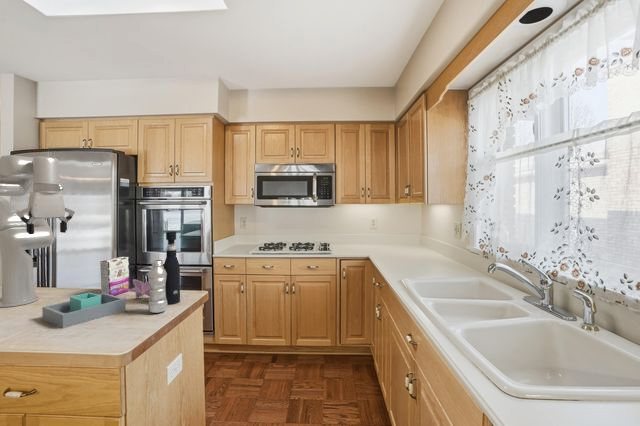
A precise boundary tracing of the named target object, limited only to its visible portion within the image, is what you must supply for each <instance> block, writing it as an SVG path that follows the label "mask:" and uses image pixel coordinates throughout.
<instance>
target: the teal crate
mask: <svg viewBox="0 0 640 426" xmlns="http://www.w3.org/2000/svg"><path fill="white" fill-rule="evenodd" d="M69 301H70V312H73V311H77V310H81V309H85V308H89V307H93V306H97V305H101V296H100V295H98V294H97V293H92V292H85V293H81V294H77V295H72V296H69Z"/></svg>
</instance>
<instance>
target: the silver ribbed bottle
mask: <svg viewBox="0 0 640 426" xmlns="http://www.w3.org/2000/svg"><path fill="white" fill-rule="evenodd" d="M163 267H164V261H163V259H155V260H151V269H150V270H149V271H148V273H147V278H148V281H149V286H150V296H149V298H148V299H149V301H148V305H147V306H148V307H147V308H148V311H149V313H151V314H158V313H159V314H160V313H164V312H165V311H166V310H167V309H168V303H167V299H166V291H165V289H166V288H165V287H166V277H167V273H166V270H165V269H164V268H163Z"/></svg>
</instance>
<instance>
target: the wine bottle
mask: <svg viewBox="0 0 640 426" xmlns="http://www.w3.org/2000/svg"><path fill="white" fill-rule="evenodd" d="M175 240H176V241H177V232H176V231H167V232H165V241H167V246H166V250H165V251H166V257H165V260H164V262H163V266H162V267H163V268H164V269H165V270H166V273H167V277H166V287H165V288H166V289H165V291H166V299H167V303H168V305H170V306H172V305H176V304H179V303H180V302H181V276H180V275H181V270H180V269H181V267H180V262H179V259H178V257H177V249H176V245H175ZM168 305H167V306H168Z"/></svg>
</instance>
